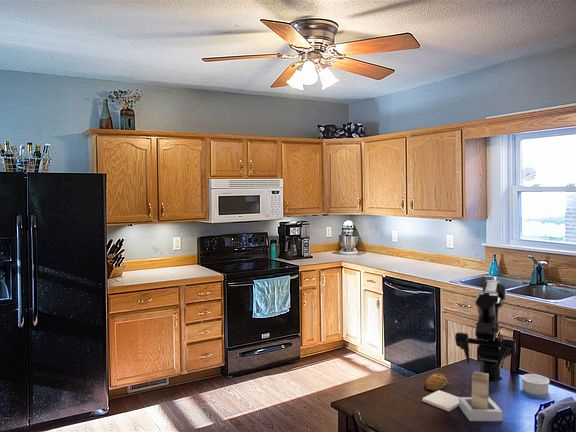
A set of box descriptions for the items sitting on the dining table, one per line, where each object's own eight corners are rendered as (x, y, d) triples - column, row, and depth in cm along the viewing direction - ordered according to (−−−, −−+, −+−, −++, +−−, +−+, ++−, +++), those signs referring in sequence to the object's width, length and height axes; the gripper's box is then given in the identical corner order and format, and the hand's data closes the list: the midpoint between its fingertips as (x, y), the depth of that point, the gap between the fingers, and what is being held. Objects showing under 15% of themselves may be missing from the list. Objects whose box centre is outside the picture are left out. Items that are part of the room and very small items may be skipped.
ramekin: (543, 398, 158) (544, 385, 158) (516, 390, 165) (517, 378, 164) (553, 390, 164) (553, 378, 164) (527, 383, 170) (527, 371, 170)
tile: (438, 392, 163) (438, 390, 163) (465, 402, 155) (465, 399, 155) (422, 401, 156) (422, 398, 156) (449, 411, 149) (449, 408, 149)
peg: (473, 409, 150) (473, 371, 150) (488, 412, 148) (488, 373, 148) (471, 414, 146) (471, 376, 146) (486, 418, 144) (487, 378, 144)
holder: (458, 406, 152) (458, 397, 152) (489, 406, 152) (489, 397, 152) (469, 421, 142) (469, 411, 142) (502, 421, 142) (502, 411, 142)
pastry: (439, 393, 162) (439, 383, 162) (420, 389, 167) (420, 378, 167) (448, 384, 170) (448, 374, 170) (430, 380, 174) (430, 370, 174)
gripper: (456, 309, 161) (450, 349, 152) (515, 315, 152) (513, 359, 143) (459, 325, 169) (454, 365, 159) (516, 332, 160) (514, 375, 150)
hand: (482, 365), depth 153 cm, fingers open, 9 cm apart
